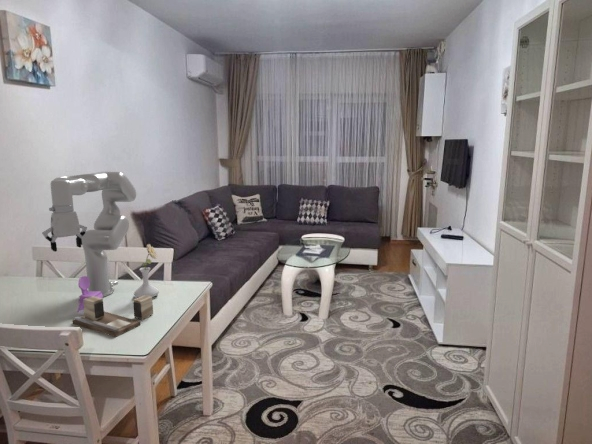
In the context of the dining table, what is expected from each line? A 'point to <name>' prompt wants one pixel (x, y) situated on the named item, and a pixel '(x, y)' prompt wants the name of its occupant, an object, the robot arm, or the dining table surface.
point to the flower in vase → (146, 287)
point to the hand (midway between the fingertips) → (67, 249)
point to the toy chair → (86, 291)
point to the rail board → (103, 319)
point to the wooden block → (143, 307)
